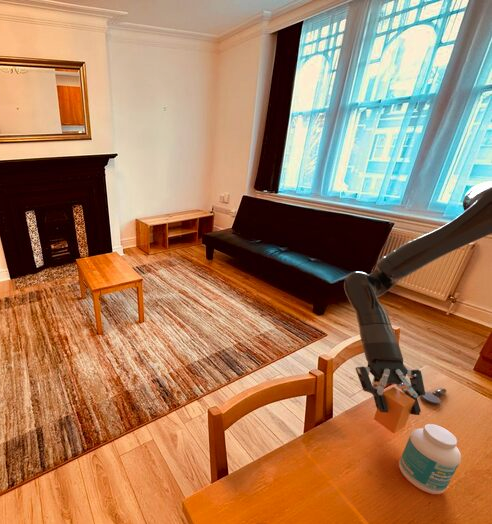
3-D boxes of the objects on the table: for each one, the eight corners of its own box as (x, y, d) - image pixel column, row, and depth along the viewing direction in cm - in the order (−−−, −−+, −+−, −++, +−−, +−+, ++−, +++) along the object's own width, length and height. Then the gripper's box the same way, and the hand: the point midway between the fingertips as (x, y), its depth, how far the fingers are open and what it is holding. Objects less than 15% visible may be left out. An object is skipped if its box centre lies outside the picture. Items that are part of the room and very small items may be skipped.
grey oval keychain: (434, 386, 83) (436, 383, 82) (452, 396, 79) (454, 392, 79) (416, 396, 80) (418, 393, 79) (434, 407, 76) (436, 403, 76)
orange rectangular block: (384, 412, 73) (393, 386, 69) (405, 426, 69) (415, 400, 66) (373, 419, 71) (382, 392, 68) (393, 433, 67) (403, 406, 64)
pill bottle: (428, 501, 56) (451, 457, 51) (389, 465, 63) (406, 423, 58) (453, 489, 58) (477, 445, 53) (413, 455, 65) (431, 413, 60)
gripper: (357, 339, 71) (376, 412, 64) (420, 342, 69) (447, 417, 62) (342, 343, 78) (358, 409, 71) (399, 346, 76) (421, 414, 69)
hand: (399, 413), depth 67 cm, fingers closed on orange rectangular block, 6 cm apart
